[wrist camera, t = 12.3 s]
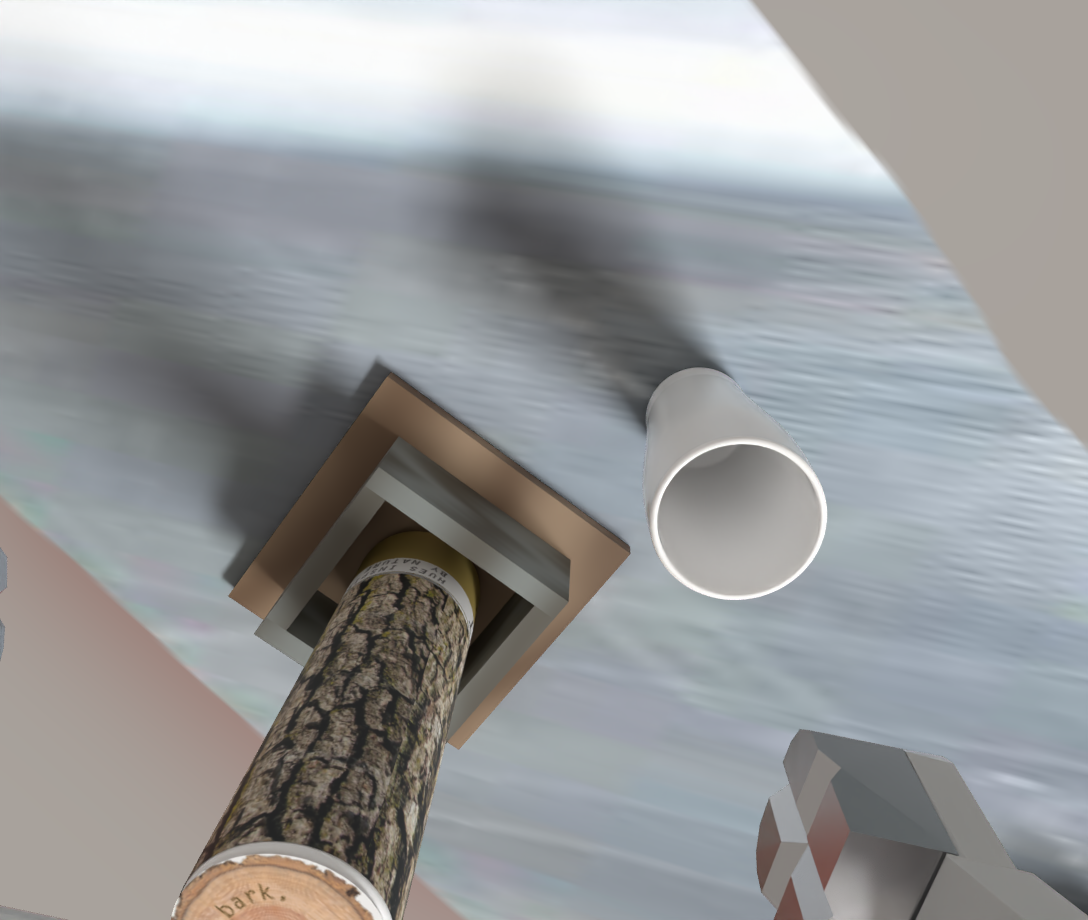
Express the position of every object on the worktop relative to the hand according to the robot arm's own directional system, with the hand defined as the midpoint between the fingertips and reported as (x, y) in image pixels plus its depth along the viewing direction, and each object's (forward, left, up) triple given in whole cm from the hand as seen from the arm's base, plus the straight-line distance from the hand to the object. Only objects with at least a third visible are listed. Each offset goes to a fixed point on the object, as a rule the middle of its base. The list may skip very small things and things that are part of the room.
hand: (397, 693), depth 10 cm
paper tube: (+5, -18, -39) cm, 43 cm away
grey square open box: (+5, -18, -40) cm, 44 cm away
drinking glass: (+11, -2, -40) cm, 41 cm away
